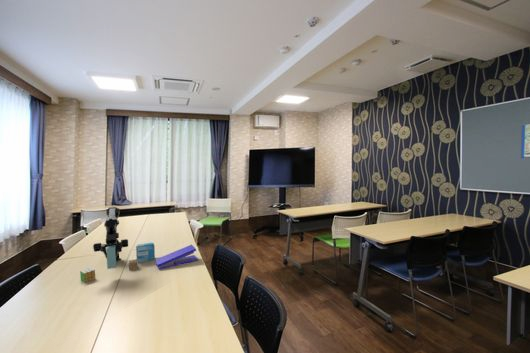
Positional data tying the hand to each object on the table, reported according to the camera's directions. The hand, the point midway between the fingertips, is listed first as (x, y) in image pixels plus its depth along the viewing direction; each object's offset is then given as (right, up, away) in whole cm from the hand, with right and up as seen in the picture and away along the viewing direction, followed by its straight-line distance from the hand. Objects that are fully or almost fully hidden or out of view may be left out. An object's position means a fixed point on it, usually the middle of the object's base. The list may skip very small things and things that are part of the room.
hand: (111, 257), depth 150 cm
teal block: (-1, -7, +2) cm, 7 cm away
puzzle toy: (-15, -14, 0) cm, 20 cm away
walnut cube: (+5, -13, +16) cm, 21 cm away
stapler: (+32, -13, +25) cm, 43 cm away
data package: (+7, -12, +30) cm, 33 cm away
